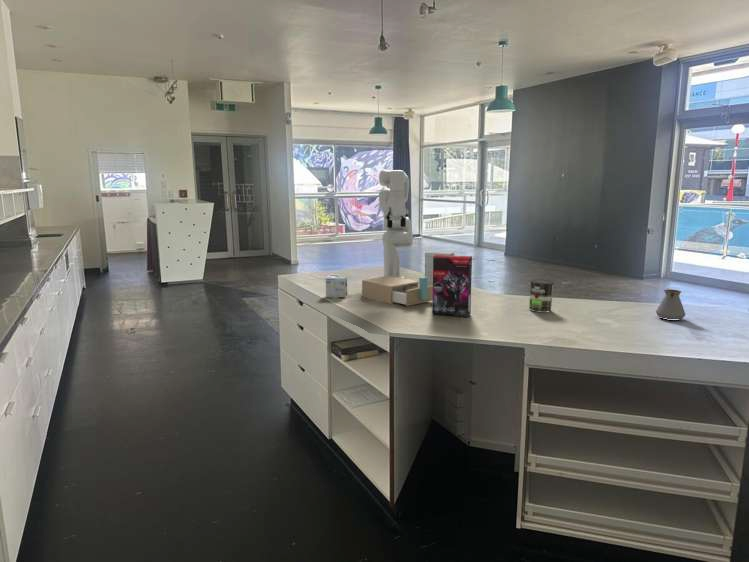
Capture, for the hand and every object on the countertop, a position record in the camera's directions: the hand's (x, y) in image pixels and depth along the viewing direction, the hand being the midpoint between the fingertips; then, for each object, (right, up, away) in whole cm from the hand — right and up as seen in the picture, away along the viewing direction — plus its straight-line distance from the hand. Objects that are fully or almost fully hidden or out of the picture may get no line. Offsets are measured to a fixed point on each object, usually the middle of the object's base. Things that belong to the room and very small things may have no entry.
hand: (396, 227), depth 272 cm
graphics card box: (+24, -44, -35) cm, 61 cm away
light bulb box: (-32, -37, 0) cm, 49 cm away
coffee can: (+67, -43, -28) cm, 84 cm away
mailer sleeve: (-3, -37, -1) cm, 37 cm away
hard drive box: (+26, -32, +27) cm, 49 cm away
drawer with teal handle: (+5, -38, -11) cm, 40 cm away
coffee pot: (+118, -46, -46) cm, 135 cm away
